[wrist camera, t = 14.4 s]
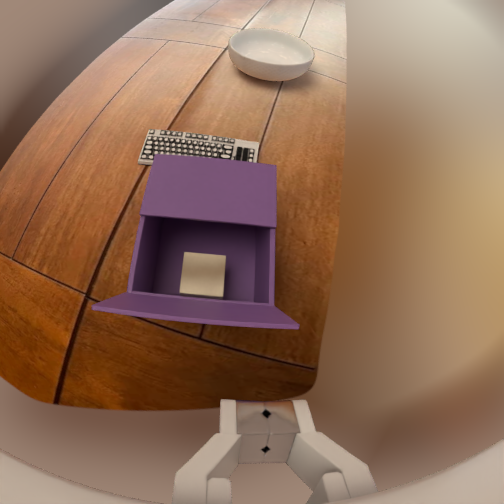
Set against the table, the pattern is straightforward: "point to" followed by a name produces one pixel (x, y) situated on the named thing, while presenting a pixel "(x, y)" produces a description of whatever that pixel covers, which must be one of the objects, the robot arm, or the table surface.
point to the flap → (197, 311)
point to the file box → (207, 226)
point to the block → (203, 276)
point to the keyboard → (196, 146)
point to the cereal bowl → (270, 54)
